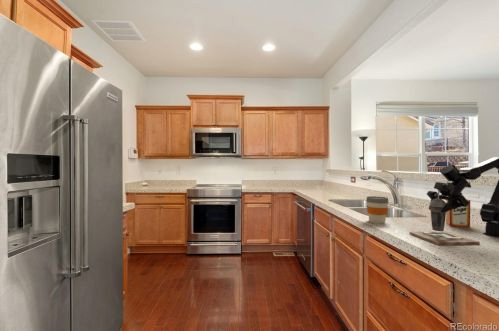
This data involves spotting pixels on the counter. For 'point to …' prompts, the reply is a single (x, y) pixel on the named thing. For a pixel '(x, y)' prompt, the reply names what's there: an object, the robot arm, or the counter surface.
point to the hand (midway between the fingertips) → (435, 210)
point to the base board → (444, 238)
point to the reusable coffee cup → (377, 208)
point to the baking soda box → (458, 216)
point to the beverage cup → (437, 214)
